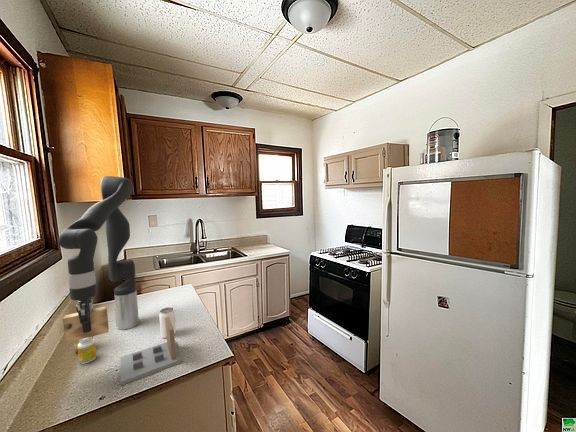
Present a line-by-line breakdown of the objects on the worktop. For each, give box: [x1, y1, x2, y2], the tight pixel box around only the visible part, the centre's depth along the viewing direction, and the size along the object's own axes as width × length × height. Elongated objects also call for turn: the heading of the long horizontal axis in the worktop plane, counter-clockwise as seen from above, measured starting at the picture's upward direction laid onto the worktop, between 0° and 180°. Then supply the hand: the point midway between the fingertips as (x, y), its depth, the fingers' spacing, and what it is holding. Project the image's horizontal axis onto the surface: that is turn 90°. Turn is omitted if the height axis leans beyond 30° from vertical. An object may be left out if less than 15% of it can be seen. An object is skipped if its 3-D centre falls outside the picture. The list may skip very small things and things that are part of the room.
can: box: [158, 306, 177, 339], centre depth 114 cm, size 6×6×12 cm
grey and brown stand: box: [119, 317, 183, 386], centre depth 95 cm, size 20×16×13 cm
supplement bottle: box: [77, 337, 97, 365], centre depth 98 cm, size 5×5×10 cm
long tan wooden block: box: [62, 306, 110, 344], centre depth 89 cm, size 12×4×9 cm, turn 124°
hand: (88, 329), depth 89 cm, fingers closed on long tan wooden block, 3 cm apart
